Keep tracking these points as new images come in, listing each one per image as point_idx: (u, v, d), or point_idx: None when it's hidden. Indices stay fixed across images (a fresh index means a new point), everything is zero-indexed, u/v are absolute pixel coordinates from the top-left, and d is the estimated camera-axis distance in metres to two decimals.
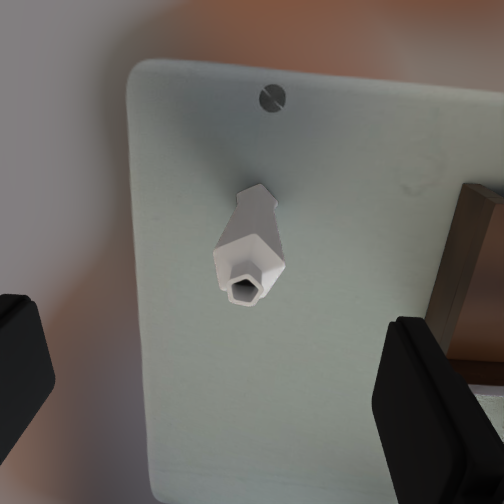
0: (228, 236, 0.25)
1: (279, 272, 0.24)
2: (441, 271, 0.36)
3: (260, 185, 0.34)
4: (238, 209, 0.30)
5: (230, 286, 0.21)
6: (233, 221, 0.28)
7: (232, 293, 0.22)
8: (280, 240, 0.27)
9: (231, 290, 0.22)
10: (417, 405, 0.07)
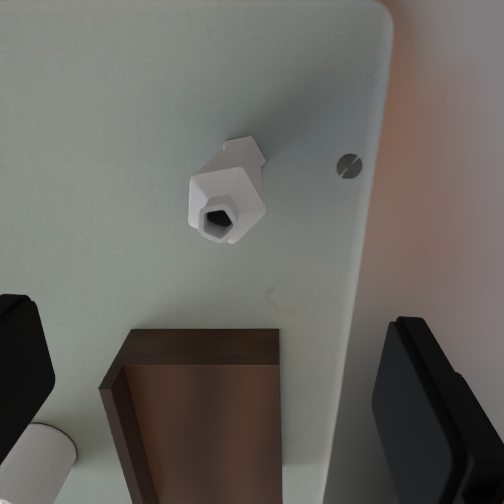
0: (250, 175, 0.22)
1: None
2: (199, 332, 0.40)
3: (264, 162, 0.32)
4: (251, 154, 0.28)
5: (220, 208, 0.19)
6: (250, 162, 0.25)
7: None
8: None
9: (215, 209, 0.19)
10: (417, 405, 0.07)
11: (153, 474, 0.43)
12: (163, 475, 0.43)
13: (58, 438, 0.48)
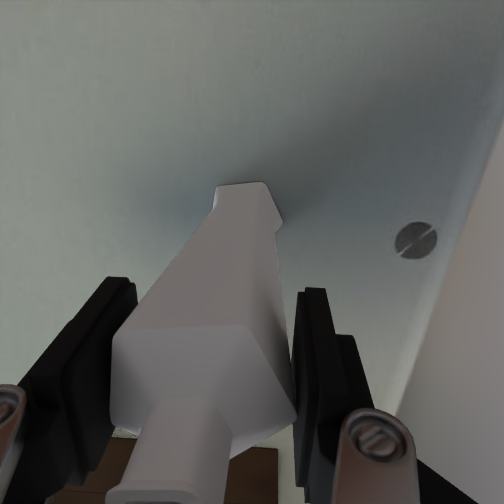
0: (264, 318, 0.09)
1: None
2: None
3: (280, 225, 0.20)
4: (262, 227, 0.15)
5: (173, 498, 0.06)
6: (262, 259, 0.12)
7: (143, 493, 0.06)
8: None
9: (156, 496, 0.06)
10: (301, 359, 0.09)
11: None
12: None
13: None
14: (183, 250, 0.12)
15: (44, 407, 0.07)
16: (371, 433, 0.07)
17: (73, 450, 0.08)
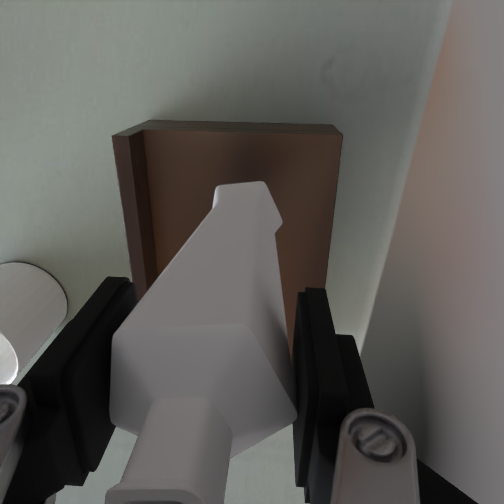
0: (264, 317, 0.09)
1: None
2: (234, 122, 0.32)
3: (280, 224, 0.20)
4: (262, 227, 0.15)
5: (173, 497, 0.06)
6: (262, 258, 0.12)
7: (143, 492, 0.06)
8: None
9: (156, 495, 0.06)
10: (301, 358, 0.09)
11: None
12: None
13: (47, 280, 0.40)
14: (183, 249, 0.12)
15: (44, 407, 0.07)
16: (371, 433, 0.07)
17: (73, 450, 0.08)
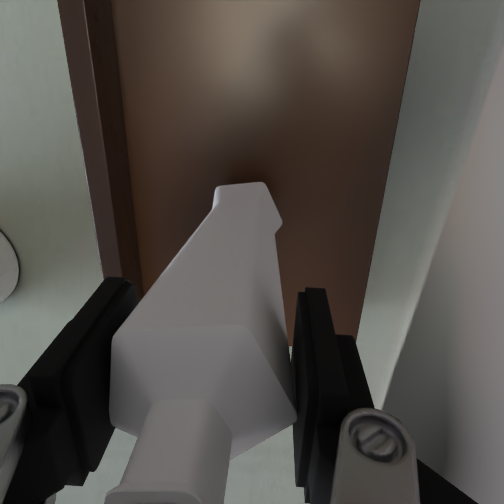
0: (264, 318, 0.09)
1: None
2: None
3: (280, 225, 0.20)
4: (262, 227, 0.15)
5: (173, 499, 0.06)
6: (261, 259, 0.12)
7: (143, 494, 0.06)
8: None
9: (156, 497, 0.06)
10: (301, 359, 0.09)
11: (144, 266, 0.25)
12: (161, 269, 0.25)
13: None
14: (183, 250, 0.12)
15: (44, 407, 0.07)
16: (371, 433, 0.07)
17: (73, 450, 0.08)
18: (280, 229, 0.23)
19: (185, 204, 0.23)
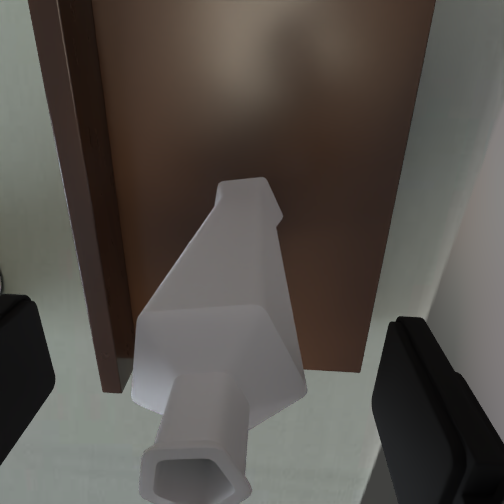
0: (275, 301, 0.10)
1: None
2: None
3: (281, 219, 0.20)
4: (266, 220, 0.16)
5: (204, 455, 0.07)
6: (268, 248, 0.13)
7: None
8: None
9: (188, 454, 0.07)
10: (417, 405, 0.07)
11: (133, 284, 0.23)
12: (151, 287, 0.23)
13: None
14: (193, 241, 0.13)
15: None
16: None
17: None
18: (280, 244, 0.21)
19: (176, 217, 0.21)
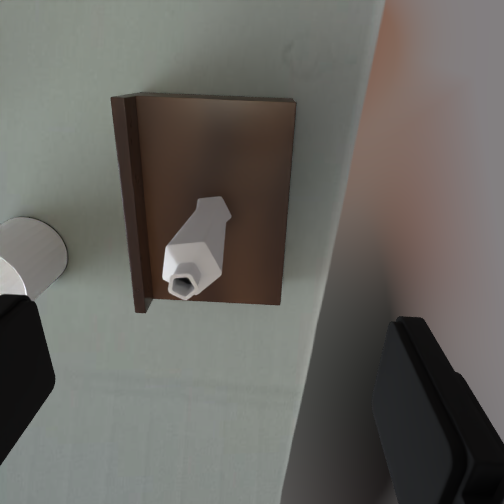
0: (212, 244, 0.29)
1: None
2: (211, 95, 0.39)
3: (230, 217, 0.39)
4: (217, 217, 0.35)
5: (185, 276, 0.26)
6: (214, 228, 0.32)
7: (178, 276, 0.26)
8: None
9: (181, 276, 0.26)
10: (417, 405, 0.07)
11: (152, 253, 0.42)
12: (162, 255, 0.42)
13: (51, 232, 0.46)
14: (184, 225, 0.32)
15: None
16: None
17: None
18: (231, 231, 0.40)
19: (176, 217, 0.40)
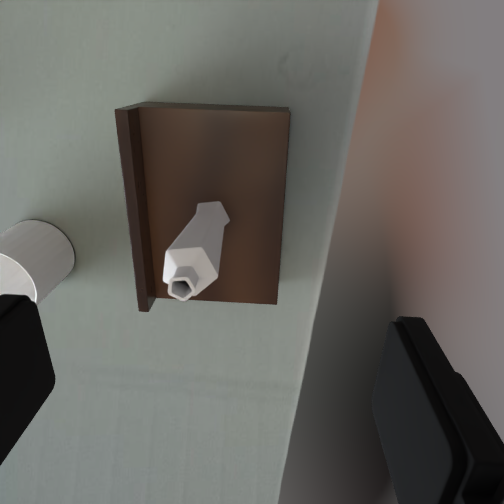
0: (209, 249, 0.31)
1: None
2: (211, 104, 0.41)
3: (228, 221, 0.41)
4: (215, 222, 0.37)
5: (183, 279, 0.28)
6: (212, 233, 0.34)
7: (177, 279, 0.28)
8: None
9: (180, 279, 0.28)
10: (417, 405, 0.07)
11: (154, 255, 0.44)
12: (164, 257, 0.44)
13: (59, 234, 0.49)
14: (183, 230, 0.34)
15: None
16: None
17: None
18: (229, 234, 0.42)
19: (177, 220, 0.42)
